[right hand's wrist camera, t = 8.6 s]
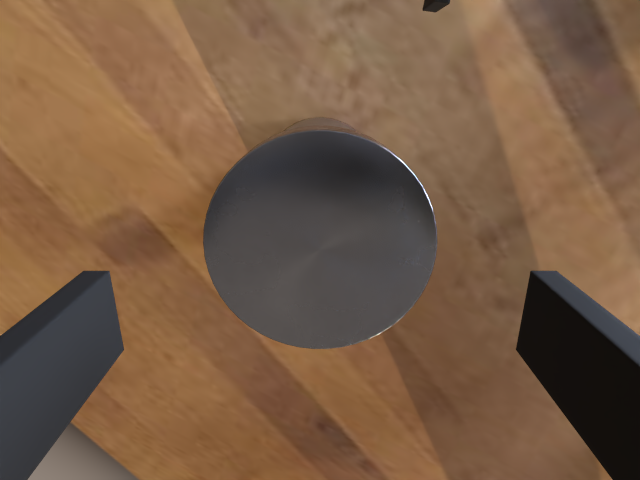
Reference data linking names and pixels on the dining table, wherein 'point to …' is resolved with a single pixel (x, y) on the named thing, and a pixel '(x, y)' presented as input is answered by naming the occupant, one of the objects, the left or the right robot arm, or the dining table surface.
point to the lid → (320, 238)
